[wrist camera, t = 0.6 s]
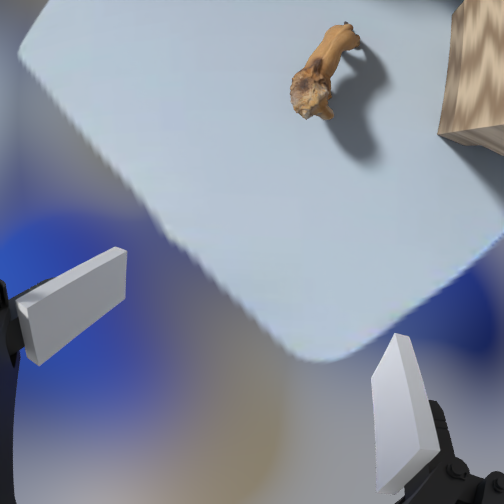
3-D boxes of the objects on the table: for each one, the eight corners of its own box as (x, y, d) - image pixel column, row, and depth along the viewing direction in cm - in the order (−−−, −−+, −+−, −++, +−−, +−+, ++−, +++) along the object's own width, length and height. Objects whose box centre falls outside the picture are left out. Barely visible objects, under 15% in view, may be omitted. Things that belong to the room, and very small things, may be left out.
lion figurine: (329, 132, 35) (329, 125, 27) (287, 117, 36) (275, 106, 27) (365, 30, 30) (373, -1, 21) (324, 16, 30) (321, -17, 22)
